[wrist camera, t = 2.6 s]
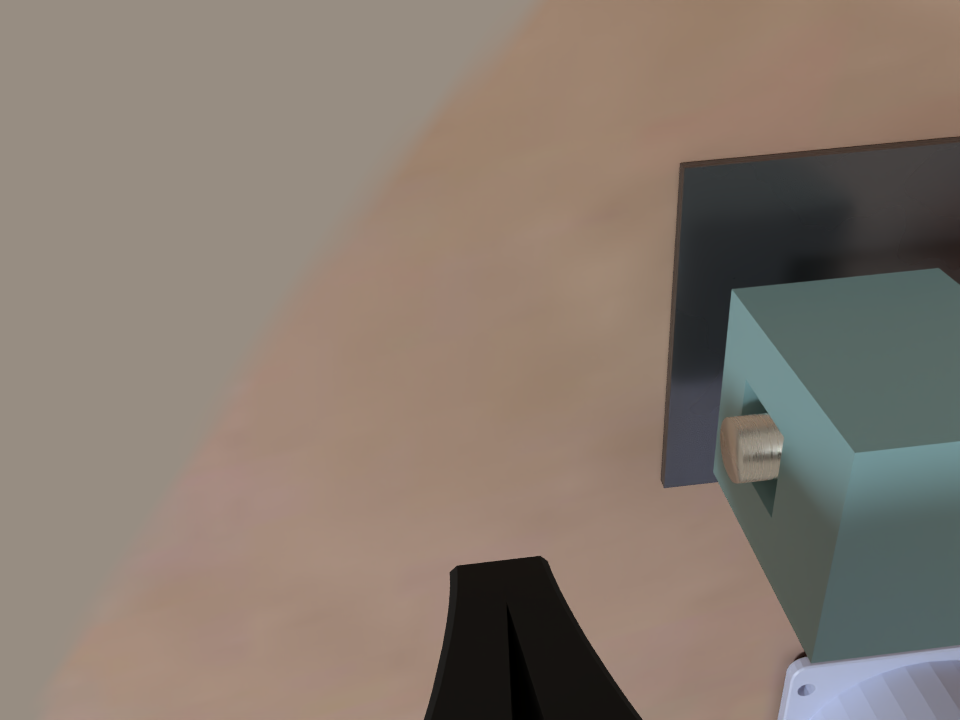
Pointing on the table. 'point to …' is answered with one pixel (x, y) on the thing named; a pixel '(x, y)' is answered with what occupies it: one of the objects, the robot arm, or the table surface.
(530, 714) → the robot arm
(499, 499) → the table surface
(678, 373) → the grey metal stand
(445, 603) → the table surface
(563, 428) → the table surface
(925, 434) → the teal block on rod
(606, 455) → the table surface
